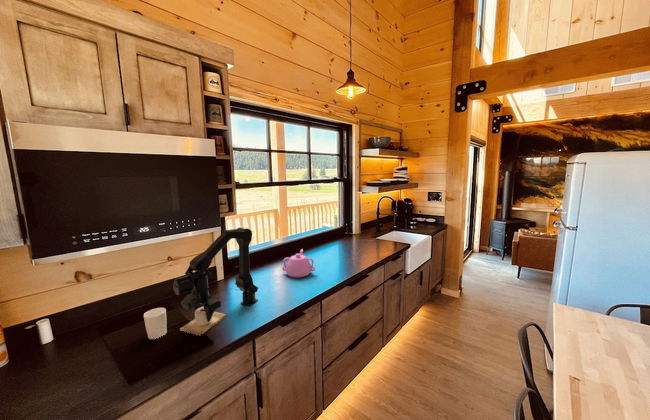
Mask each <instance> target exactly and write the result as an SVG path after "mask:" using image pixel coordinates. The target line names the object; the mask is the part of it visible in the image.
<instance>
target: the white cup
mask: <svg viewBox="0 0 650 420" xmlns="http://www.w3.org/2000/svg"><path fill="white" fill-rule="evenodd" d="M143 319H144V321H143V322H144V325H145V331H146V334H147V339H149V340H156V338H157V339H160V338H162V337H163V335H164V336H165V335H166V334H167V333H168V330H167V329H168V327H167V323H168V322H167V309H166V308H165V307H156V308H153V309H149V310H148V311H146V312H144V314H143ZM161 336H162V337H161ZM159 337H160V338H159Z"/></svg>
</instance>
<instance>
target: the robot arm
mask: <svg viewBox="0 0 650 420" xmlns="http://www.w3.org/2000/svg"><path fill="white" fill-rule="evenodd" d="M231 239H233V240H234V239H235V241H236V242H237V245H238V260H239V261H238V263H239V266H238V267H239V274H238V276H235V277H234V278H235V286H236V288H238V289H239V291H240V292H241V291H242V296H241V297H242V298H241V299H242V301H241V302H240V304H241V305H243V306H244V305H245V306H250V307H251V306H253V305H254V304H255V303H257V302H258V301H259V299H258V298H256V293H257V292H258V289H259V286H257V285H255V284H254V280H253V277H252V275H251V271H250V270H251V269H250V244H251V242H252V240H253V231H252V230H251V229H250V228H247V227H237V228H234V229H224V230H223V231H222V232H221V234H219V236H218V237H217V238H216V239H215V240H214V241H213V242H212V243H211V244H210V245H209V246H208V247H207V248H206V249H205V250H204V251H203V252H201V253H199V254H197V255H196V256H195V257H194V258H192V259H191V260H190V262H189V266H188V268H187V269H186V271H185V273H184V275H182V276H181V277H179V276H178V277H176V278H174V281H173V283H172V284H173V285H172V289H173V292H174V293H175V296H176V295H177V296H179V295H181V294H184V293H187V292H191V293H188V294H186V295H185V296H184V298H183V299H182V300H181V302H180V304H181V306H182V308H183V309H185V310H187V311H190V310H192V309H193V310H194V311H195V310H196V309H198V308H200V307H204V309H203V311H205V313H206V317H207V321H208V322H209V321H210V320H211V318H212V315H213V313H214V312H216V309H218V308H219V309H220V307H221V306H222V301H221V300H218V299H216V298H213V299H212V295H210V293H209V291H210V290H211V286H209V282H208V276H210V275H212V274H213V273H212V272H211V271H210V270H208V269H209V268H210V266H211V265H212V262H213V260H214V258H215V257H216V256H217V255H218V254H219V252H220V251H221V250H222V249H223V248H224V247H225V246H226V245H228V242H230V240H231ZM210 299H211V300H210Z"/></svg>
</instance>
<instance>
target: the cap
mask: <svg viewBox="0 0 650 420" xmlns="http://www.w3.org/2000/svg"><path fill="white" fill-rule="evenodd" d="M203 309H204V307H203V306H202V307H200V308H198V309H196V310H194V319H195V322H196V324H197V325H205V324H208V323H210V322H211V321H212V318H211V320H210V321H209V322H208V321H207V317H206V313H205V311H203Z"/></svg>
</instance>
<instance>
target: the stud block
mask: <svg viewBox="0 0 650 420" xmlns="http://www.w3.org/2000/svg"><path fill="white" fill-rule="evenodd" d="M226 317H227V314H226V313H221V312H217V311H214V313H213V315H212V321H211V322H210V323H208V324H205V325H197V324H196V322H195V318H194V319H193V320H191V321H189V322H188V323H186V324H185V325H183V326H181V327H180V328H179V331H180V332H182V331H184V332H183V333H186V332H187V334H190V333H191V335H194V334H195V336H198V335H199V337H200V336H202V335H203V334H205V333H206V332H207V331H209V330H210V329H211V328H213V327H214V326H215V325H217V324H218V323H219V322H221V321H222V320H224V318H226ZM201 334H202V335H201Z"/></svg>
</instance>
